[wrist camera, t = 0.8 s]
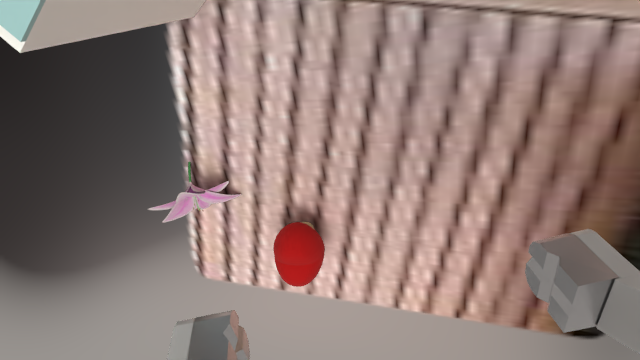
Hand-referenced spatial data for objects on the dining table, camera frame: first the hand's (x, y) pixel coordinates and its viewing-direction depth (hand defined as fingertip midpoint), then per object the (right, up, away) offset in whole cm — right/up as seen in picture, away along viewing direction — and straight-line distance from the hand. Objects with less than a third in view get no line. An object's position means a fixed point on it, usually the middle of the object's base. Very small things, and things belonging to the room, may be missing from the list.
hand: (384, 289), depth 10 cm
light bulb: (-4, -4, +49) cm, 49 cm away
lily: (-19, +2, +48) cm, 51 cm away
